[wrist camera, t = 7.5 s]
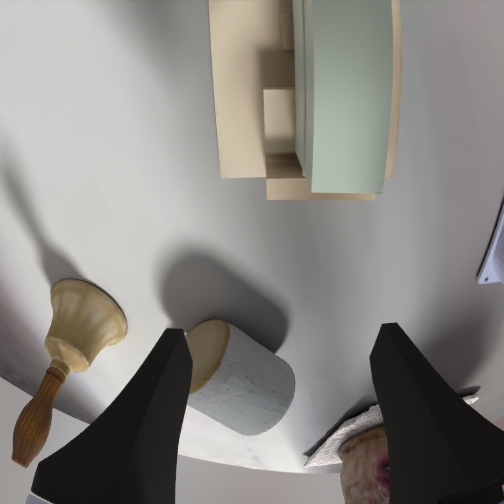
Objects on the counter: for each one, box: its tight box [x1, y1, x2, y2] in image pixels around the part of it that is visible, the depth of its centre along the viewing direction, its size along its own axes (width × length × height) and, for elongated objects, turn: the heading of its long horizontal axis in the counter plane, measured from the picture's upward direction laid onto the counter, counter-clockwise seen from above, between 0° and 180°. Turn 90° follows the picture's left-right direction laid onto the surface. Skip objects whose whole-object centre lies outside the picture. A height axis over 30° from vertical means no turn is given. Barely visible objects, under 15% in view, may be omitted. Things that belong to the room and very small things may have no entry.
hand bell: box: [12, 279, 128, 468], centre depth 18 cm, size 8×8×16 cm
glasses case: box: [293, 0, 393, 194], centre depth 8 cm, size 2×12×5 cm, turn 2°
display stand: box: [209, 0, 402, 200], centre depth 11 cm, size 10×16×4 cm, turn 3°
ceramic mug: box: [185, 319, 295, 435], centre depth 23 cm, size 11×8×8 cm
